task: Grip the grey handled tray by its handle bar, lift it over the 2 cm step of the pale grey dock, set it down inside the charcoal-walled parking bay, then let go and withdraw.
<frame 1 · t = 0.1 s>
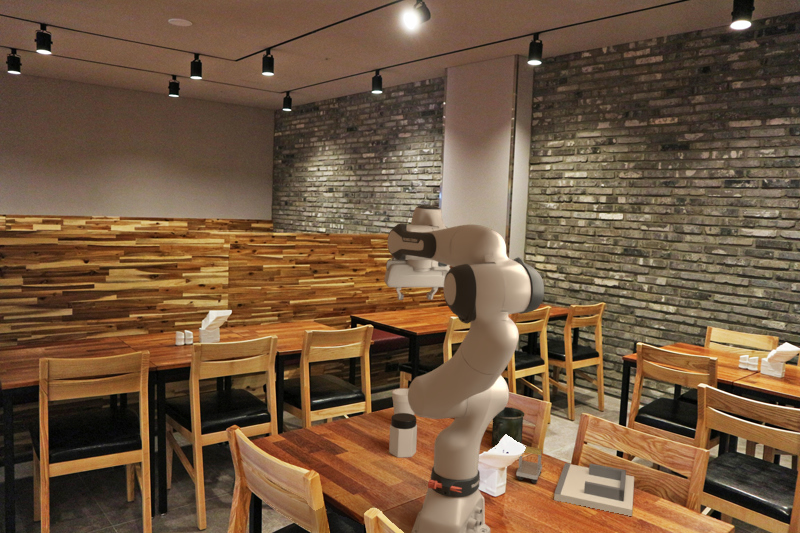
hand: (414, 298, 175), 52 cm above the table, tool tilted 20°, fingers open, 8 cm apart
dock: (595, 491, 164), on the table
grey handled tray: (529, 477, 172), on the table
jar: (402, 453, 187), on the table
mug: (504, 448, 194), on the table
foam cup: (403, 427, 211), on the table
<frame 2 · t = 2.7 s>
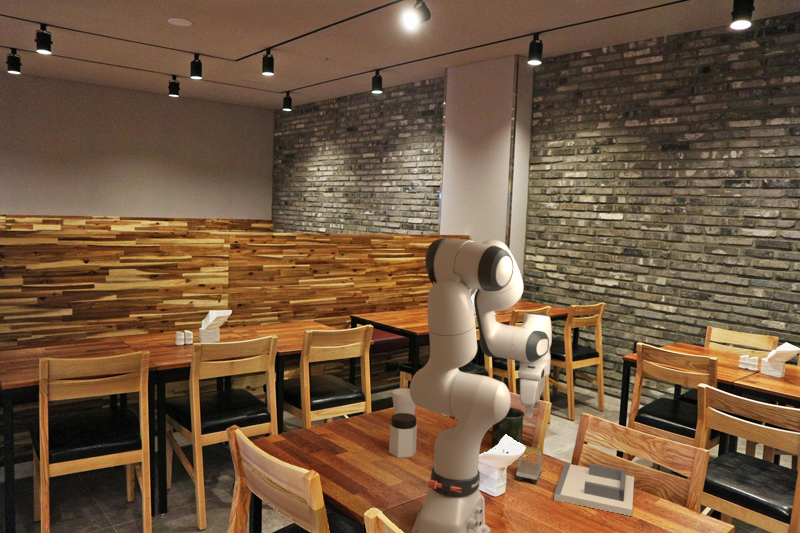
hand: (532, 411, 170), 20 cm above the table, tool pointing down, fingers open, 8 cm apart
nothing on the table moved.
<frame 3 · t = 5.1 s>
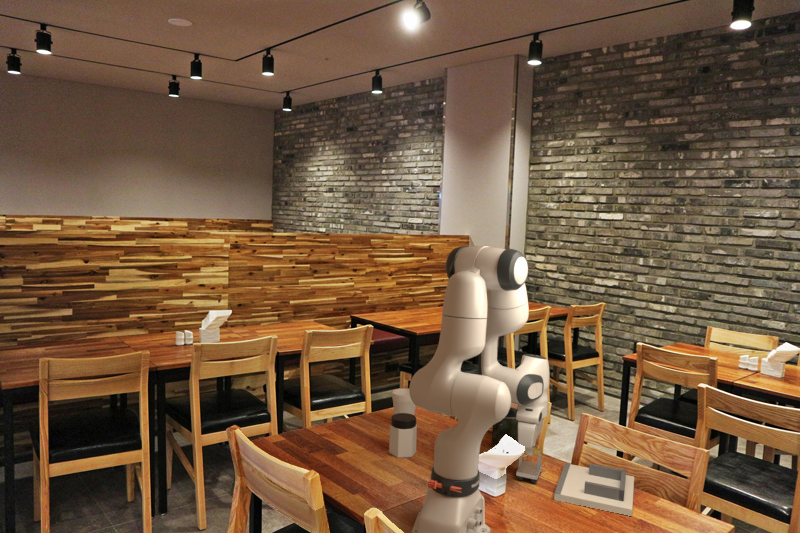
hand: (530, 453, 171), 8 cm above the table, tool pointing down, fingers closed on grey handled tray
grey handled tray: (529, 477, 172), on the table, touching gripper
everything else where it was.
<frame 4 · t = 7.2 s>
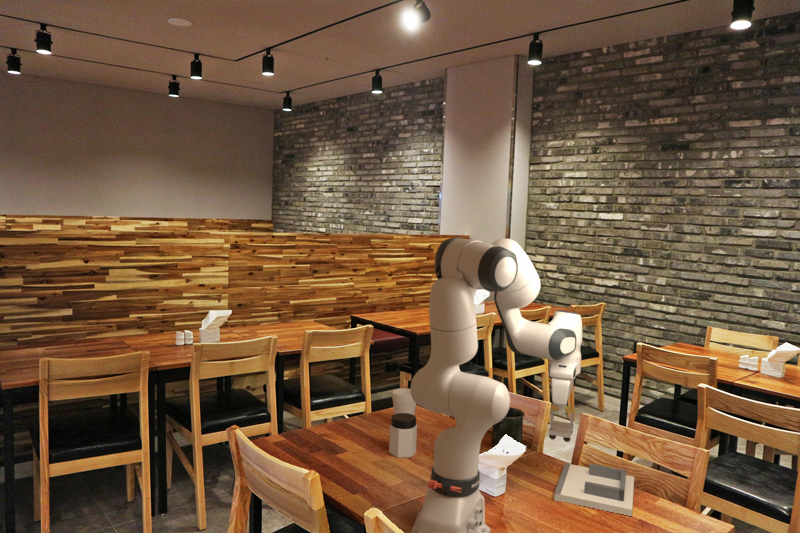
hand: (562, 411, 167), 22 cm above the table, tool pointing down, fingers closed on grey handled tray
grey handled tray: (560, 436, 168), point 14 cm above the table, touching gripper
everything else where it was.
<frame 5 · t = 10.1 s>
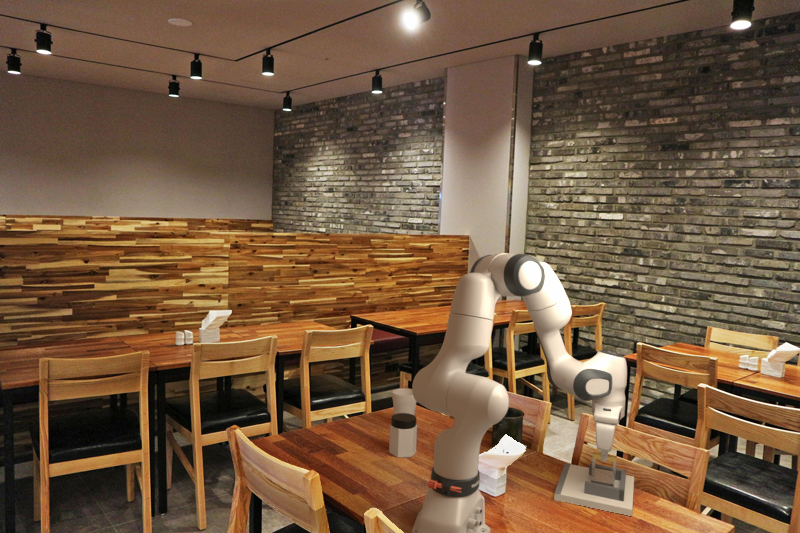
hand: (605, 455, 163), 11 cm above the table, tool pointing down, fingers open, 6 cm apart
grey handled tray: (602, 486, 163), point 2 cm above the table, touching dock
everything else where it was.
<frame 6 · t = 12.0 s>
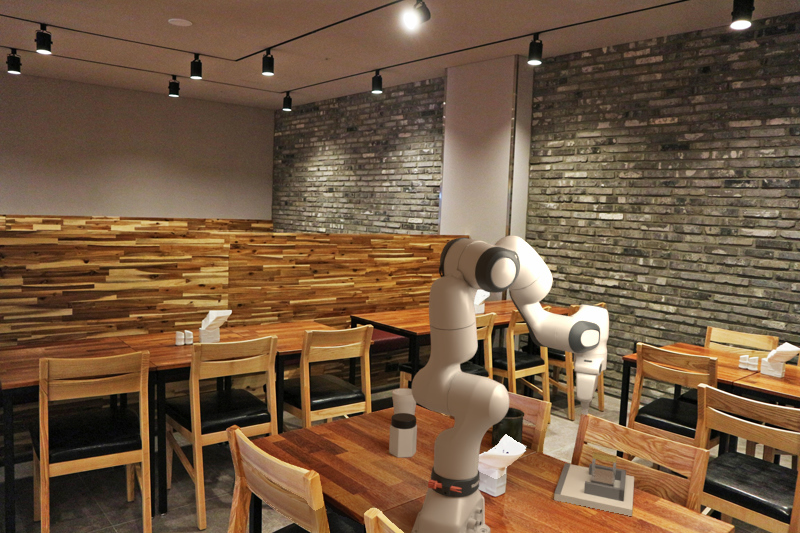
hand: (586, 409, 162), 24 cm above the table, tool pointing down, fingers open, 8 cm apart
nothing on the table moved.
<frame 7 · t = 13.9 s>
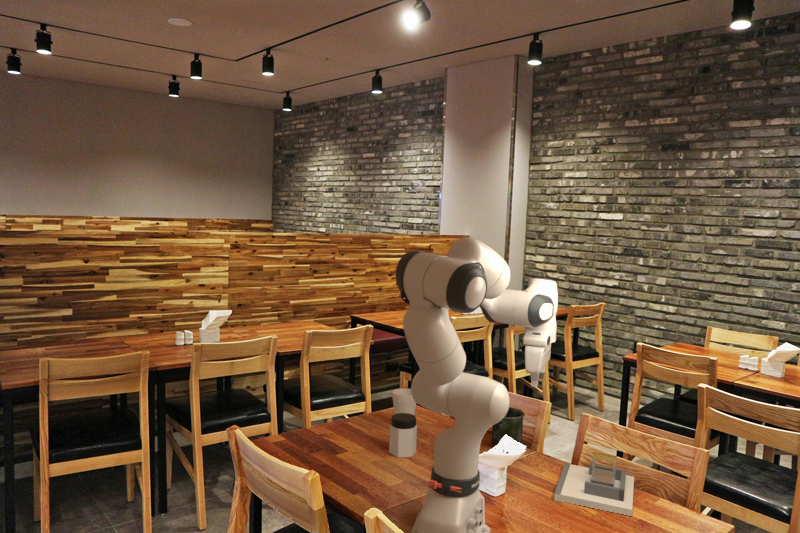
hand: (537, 382, 163), 31 cm above the table, tool pointing down, fingers open, 8 cm apart
nothing on the table moved.
at the end: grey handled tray 0.1 cm from the target spot, point 2.0 cm above the table; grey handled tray tilted 0°; the gripper is holding nothing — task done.
